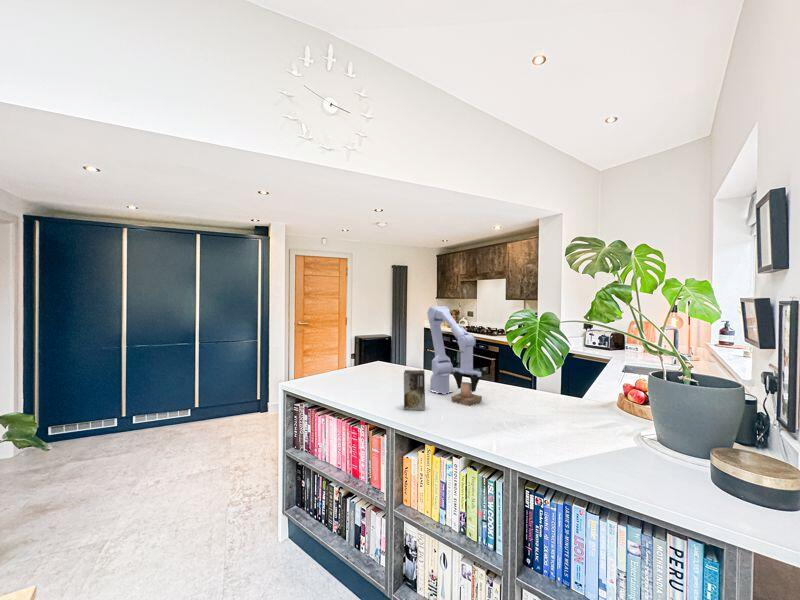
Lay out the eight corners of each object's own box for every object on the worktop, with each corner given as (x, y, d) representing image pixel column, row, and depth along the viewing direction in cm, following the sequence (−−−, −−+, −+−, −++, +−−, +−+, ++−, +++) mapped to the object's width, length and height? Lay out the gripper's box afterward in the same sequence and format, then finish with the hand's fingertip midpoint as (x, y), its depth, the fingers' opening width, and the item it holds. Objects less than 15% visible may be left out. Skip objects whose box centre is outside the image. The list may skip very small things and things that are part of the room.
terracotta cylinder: (458, 396, 164) (458, 383, 164) (465, 394, 168) (465, 381, 168) (467, 398, 161) (467, 385, 160) (473, 396, 164) (473, 383, 164)
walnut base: (451, 401, 164) (451, 396, 164) (463, 397, 171) (463, 392, 171) (469, 406, 157) (469, 400, 157) (481, 401, 164) (481, 396, 164)
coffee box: (425, 406, 158) (425, 370, 157) (424, 410, 151) (424, 373, 151) (404, 405, 158) (404, 369, 158) (403, 410, 152) (403, 372, 152)
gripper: (448, 359, 166) (448, 388, 167) (475, 363, 156) (475, 394, 156) (457, 357, 171) (457, 385, 172) (483, 361, 161) (483, 391, 161)
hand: (466, 389), depth 164 cm, fingers open, 7 cm apart
